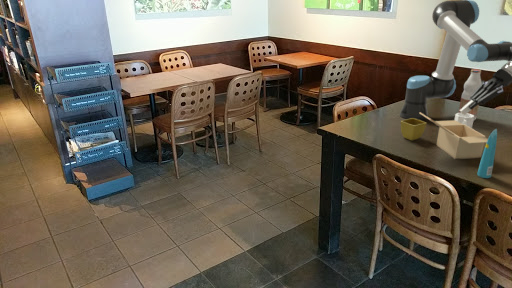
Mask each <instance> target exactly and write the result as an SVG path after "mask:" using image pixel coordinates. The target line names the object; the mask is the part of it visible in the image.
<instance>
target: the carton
mask: <svg viewBox="0 0 512 288" xmlns="http://www.w3.org/2000/svg"><path fill="white" fill-rule="evenodd" d="M434 121H435V122H436V123H438V124H439V125H441V126H442V127H444V128H445V129H447V130H448V131H450V132H451V133H453V134H454V135H452V134H450V133H449V132H447V131H445V130H444V129H442V128H441V127H438V132H437V133H438V134H437V140H436V144H435V145H436V146H437V148H439V149H441V150H442V151H443V152H444V153H446V154H448V155H449V156H450V157H451V158H453V159H454V160H465V159H481V158H482V155H483V152H484V148H485V144H486V143H487V141H488V138H489V137H487V136H486V135H484V134H483V133H481V132H479V131H477V130H475V129H474V128H473V127H472V128H470V127H468V126H466V125H465V124H461V123H459V122H458V121H456V120H455V119H452V120H434Z"/></svg>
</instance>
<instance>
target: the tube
mask: <svg viewBox="0 0 512 288" xmlns="http://www.w3.org/2000/svg"><path fill="white" fill-rule="evenodd" d="M487 138H488V141H487V143H485V145H484V148H483V152H482V156H481V158H480V163H479V166H478V170H477V174H476V175H477V177H479V178H481V179H490V178H492V173H493V168H494V163H495V155H496V150H497V142H498V141H497V140H498V139H497V138H498V129H497V128H495V129H493V130H492V132H491V133H490V134H489V136H488V137H487Z"/></svg>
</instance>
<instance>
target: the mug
mask: <svg viewBox="0 0 512 288" xmlns="http://www.w3.org/2000/svg"><path fill="white" fill-rule="evenodd" d="M454 115H455V116H454V120H456V121H458V122H459V123H461V124H465V125H466V126H468V127H470V128H472V129H473V125H474V124H473V123H474V121H475V120H474V115H472V114H468V113H467V114H466V115H463V114H462V113H458V112H457V113H455V114H454Z"/></svg>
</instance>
